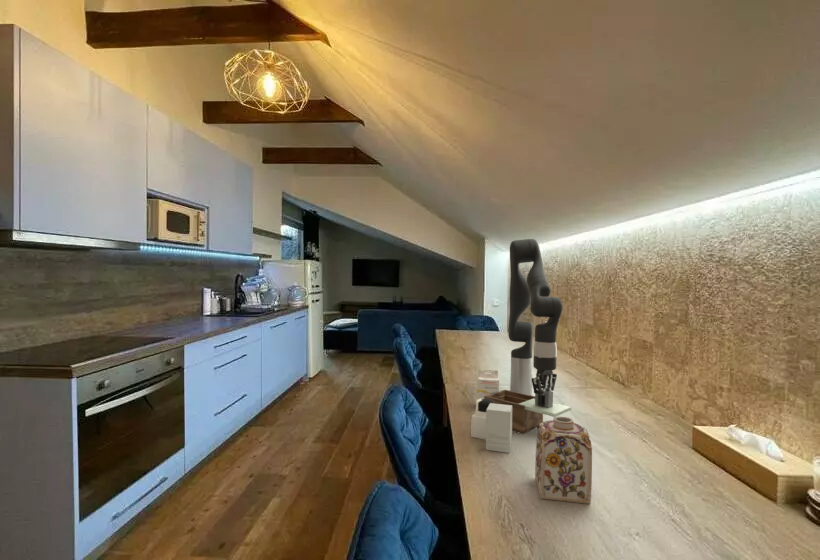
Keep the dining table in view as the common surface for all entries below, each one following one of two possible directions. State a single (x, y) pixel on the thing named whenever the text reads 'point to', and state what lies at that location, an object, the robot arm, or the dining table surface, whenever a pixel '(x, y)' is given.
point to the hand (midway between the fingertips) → (543, 404)
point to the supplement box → (499, 427)
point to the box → (518, 410)
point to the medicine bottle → (480, 418)
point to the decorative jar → (563, 461)
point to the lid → (546, 405)
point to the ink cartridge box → (487, 383)
